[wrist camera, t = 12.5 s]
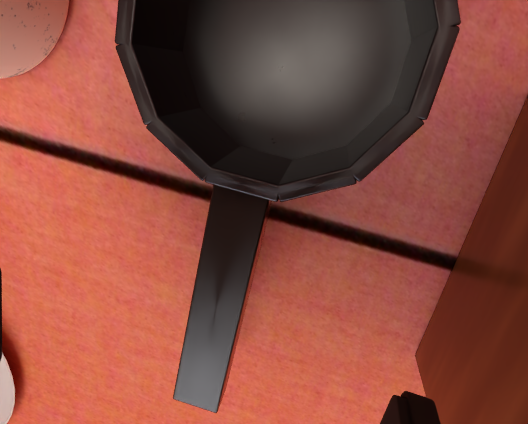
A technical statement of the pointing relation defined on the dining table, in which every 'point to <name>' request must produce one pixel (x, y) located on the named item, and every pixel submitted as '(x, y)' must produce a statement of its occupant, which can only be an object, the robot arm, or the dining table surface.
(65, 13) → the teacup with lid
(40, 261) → the dining table surface
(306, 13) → the pan
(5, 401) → the pudding
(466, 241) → the wooden cube
